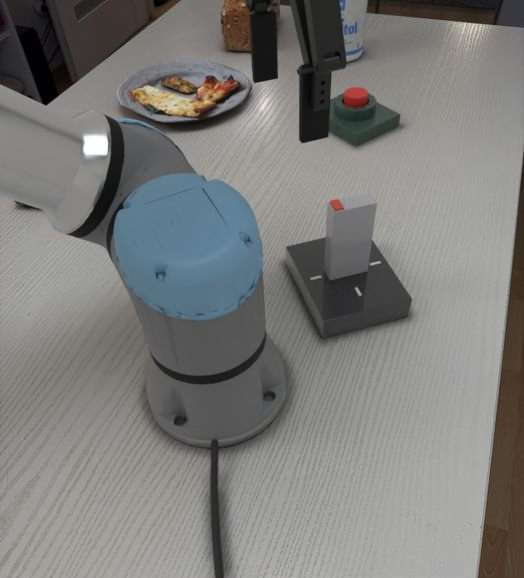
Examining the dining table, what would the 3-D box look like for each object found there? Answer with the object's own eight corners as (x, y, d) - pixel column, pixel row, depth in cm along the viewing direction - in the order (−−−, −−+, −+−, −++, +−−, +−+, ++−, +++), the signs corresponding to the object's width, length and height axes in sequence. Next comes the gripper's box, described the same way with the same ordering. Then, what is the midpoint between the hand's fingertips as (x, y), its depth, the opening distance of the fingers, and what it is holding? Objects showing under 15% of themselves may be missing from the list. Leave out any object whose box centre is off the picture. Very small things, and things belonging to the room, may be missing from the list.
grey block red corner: (361, 261, 68) (369, 190, 60) (367, 271, 67) (377, 200, 59) (323, 270, 67) (327, 200, 59) (329, 280, 66) (333, 210, 58)
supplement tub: (322, 67, 110) (325, -17, 98) (311, 48, 116) (313, -33, 104) (368, 61, 110) (377, -23, 99) (355, 42, 116) (361, -39, 105)
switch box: (398, 126, 94) (402, 103, 91) (355, 146, 90) (357, 123, 87) (351, 101, 100) (353, 79, 97) (309, 119, 97) (310, 97, 94)
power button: (372, 103, 92) (373, 92, 91) (354, 111, 91) (355, 100, 89) (356, 95, 94) (356, 84, 93) (338, 102, 93) (339, 92, 91)
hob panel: (408, 316, 66) (412, 298, 63) (322, 338, 64) (323, 320, 62) (362, 245, 74) (364, 227, 72) (286, 263, 73) (285, 245, 70)
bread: (269, 54, 115) (267, 0, 107) (220, 52, 117) (215, 0, 109) (283, 19, 127) (282, -31, 119) (238, 19, 128) (234, -31, 121)
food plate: (275, 93, 104) (275, 74, 101) (189, 146, 93) (186, 126, 90) (184, 61, 115) (181, 43, 112) (98, 105, 104) (92, 87, 101)
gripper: (418, -165, 32) (377, 159, 49) (273, -203, 47) (279, 53, 64) (301, -150, 31) (299, 178, 47) (190, -194, 46) (218, 65, 62)
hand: (287, 107), depth 56 cm, fingers open, 13 cm apart
